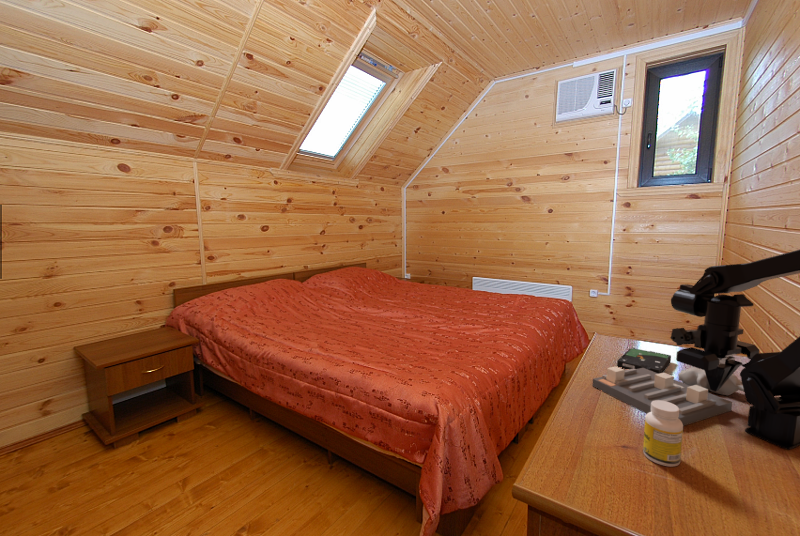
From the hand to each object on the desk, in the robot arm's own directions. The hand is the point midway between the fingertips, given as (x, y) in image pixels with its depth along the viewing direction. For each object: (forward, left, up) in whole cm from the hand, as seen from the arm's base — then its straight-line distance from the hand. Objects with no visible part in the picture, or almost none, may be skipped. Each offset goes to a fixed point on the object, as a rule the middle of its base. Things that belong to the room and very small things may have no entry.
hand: (714, 390), depth 81 cm
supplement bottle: (-8, +29, -4) cm, 30 cm away
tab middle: (+7, +6, -1) cm, 9 cm away
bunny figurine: (+4, -9, -4) cm, 11 cm away
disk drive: (+22, -8, -4) cm, 23 cm away
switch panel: (+7, +8, -4) cm, 11 cm away
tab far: (+14, +13, -1) cm, 19 cm away
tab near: (0, +6, -1) cm, 6 cm away
